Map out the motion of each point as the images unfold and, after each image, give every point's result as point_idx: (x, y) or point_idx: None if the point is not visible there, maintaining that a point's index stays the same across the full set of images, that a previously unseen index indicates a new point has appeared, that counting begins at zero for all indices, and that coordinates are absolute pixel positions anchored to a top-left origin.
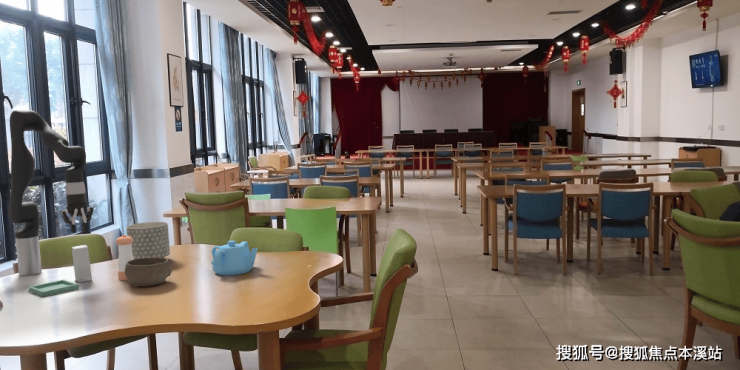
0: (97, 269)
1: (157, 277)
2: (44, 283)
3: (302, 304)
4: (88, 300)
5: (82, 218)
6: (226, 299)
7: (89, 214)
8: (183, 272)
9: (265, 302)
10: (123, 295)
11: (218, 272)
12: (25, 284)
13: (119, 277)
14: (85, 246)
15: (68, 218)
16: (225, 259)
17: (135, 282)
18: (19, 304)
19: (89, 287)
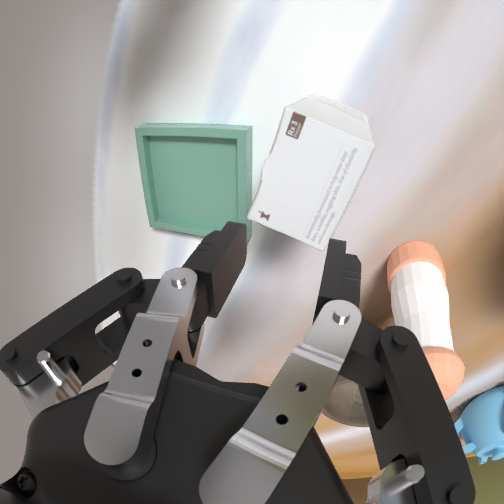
0: (464, 27)
1: (358, 397)
2: (178, 128)
3: (350, 476)
4: (220, 331)
5: (323, 353)
6: (338, 449)
7: (375, 442)
8: (490, 346)
9: (344, 465)
10: (282, 362)
11: (465, 408)
12: (165, 9)
13: (387, 266)
14: (324, 223)
15: (116, 357)
16: (464, 439)
17: None
18: (112, 228)
19: (279, 249)
